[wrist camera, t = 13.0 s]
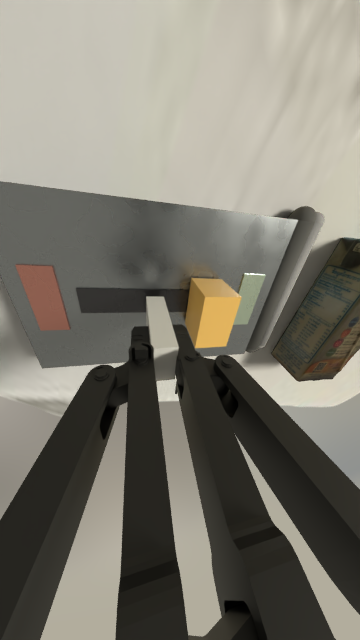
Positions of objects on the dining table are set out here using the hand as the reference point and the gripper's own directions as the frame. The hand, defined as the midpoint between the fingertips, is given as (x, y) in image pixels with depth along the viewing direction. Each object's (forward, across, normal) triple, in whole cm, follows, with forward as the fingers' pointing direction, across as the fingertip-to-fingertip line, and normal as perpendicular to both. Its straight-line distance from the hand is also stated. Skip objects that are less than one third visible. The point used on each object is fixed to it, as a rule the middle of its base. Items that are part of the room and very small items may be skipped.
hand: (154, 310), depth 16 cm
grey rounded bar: (+5, +14, 0) cm, 15 cm away
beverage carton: (+5, +25, -3) cm, 26 cm away
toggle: (+1, +5, 0) cm, 5 cm away
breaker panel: (+5, 0, 0) cm, 5 cm away
